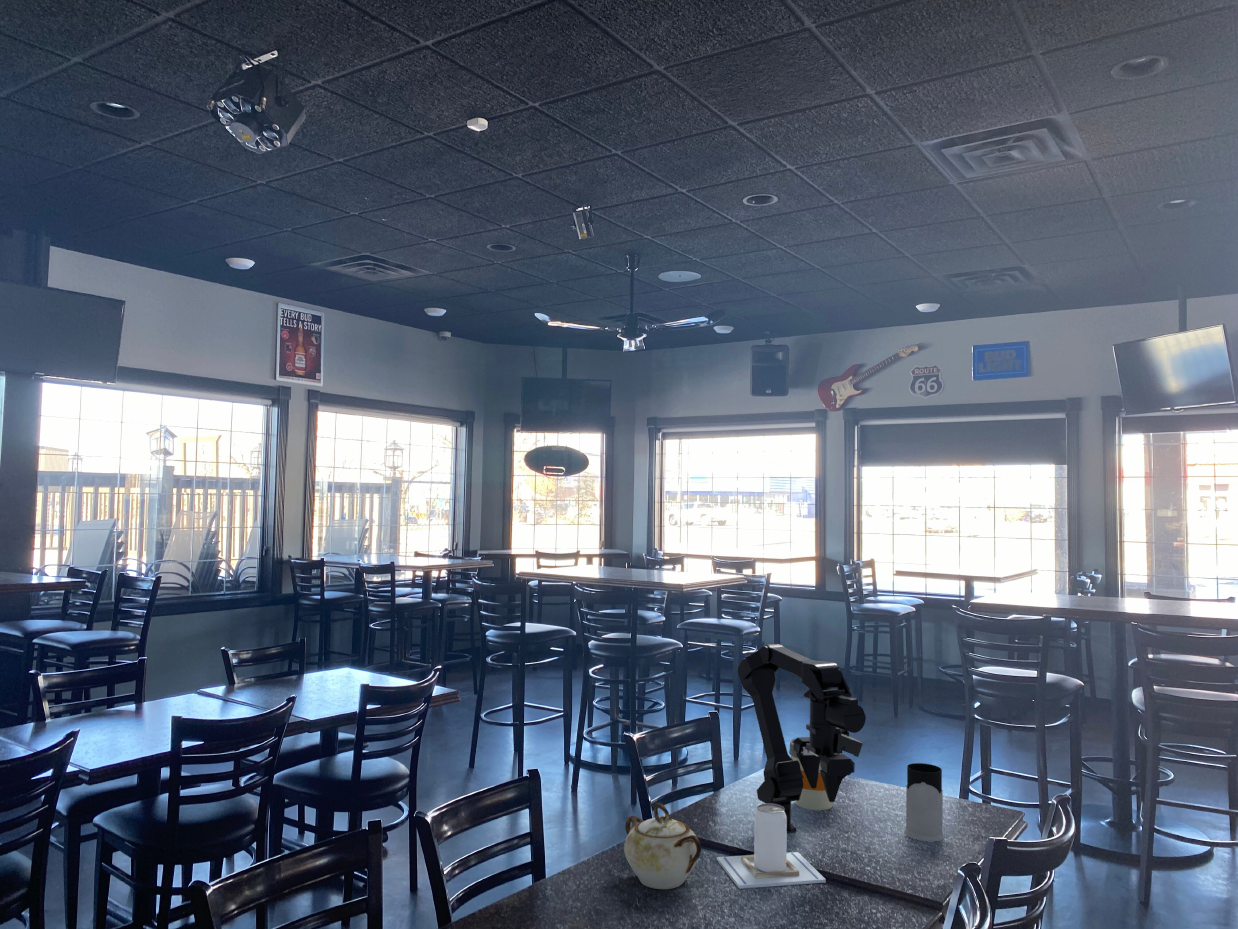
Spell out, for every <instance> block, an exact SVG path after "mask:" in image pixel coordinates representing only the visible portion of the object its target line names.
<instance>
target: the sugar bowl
mask: <svg viewBox="0 0 1238 929" xmlns="http://www.w3.org/2000/svg"><path fill="white" fill-rule="evenodd" d="M658 809H660V810H661V811H662V812H663V813H664V816H663V815H661V816H660V815H659V811H658ZM653 815H654V817H653V818H649V819H646V820H643V819H642V818H639V817H637V816H635V815H630V816H628V817H627V819H626V821H625V825H624V827H625V828H624V829H625V832H626V834H627V836H626V837H625V840H624V844H623V850H624V851H623V852H624V856H625V858H626V860H627V862H628V865H629V866H630V868H631V869H632V871H633V872H634V874H635V875H636V876H637V878H638V880H639V881H640V883H641V884H642V885H643V886H645V887H648V888H650V889H656V890H671V889H675V888H678V887H680V886H682V885H683V883H684V882H685V880H686V879H687V877H688V876H689V875H690V873H691V872H692V871H693V870H694V868H695V867H696V864H697V863H698V861H699V858H700V855H701V852H702V845H701V842H700V840H699V838H698V837H697V835H696V834H695V832H694V831H693V830H692V829H691V828H690V826H689V825H687V824H686V823H685V822H682V821H681V820H680V821H679V820H676V819H673V818H671V817H670V813H669V810H668V809H667V808H666V807H665V805H664V804H663V803H661V802H658V803H656V804H655V805H654V807H653Z"/></svg>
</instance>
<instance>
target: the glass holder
mask: <svg viewBox="0 0 1238 929" xmlns="http://www.w3.org/2000/svg"><path fill="white" fill-rule="evenodd" d="M906 768H907V769H906V772H907V773H906V782H907V783H906V788H905V790H906V791H905V792H906V793H905V794H906V796H905V797H906V801H905V804H906V805H905V808H906V809H905V812H906V813H905V814H906V816H905V817H906V818H905V822H906V825H905V829H904V831H903V834H904V835H905V834H906V835H907V837H908V838H910V839H912V838H913V840H915V839H917V840H916V841H920V842H926V841H928V843H935V842H934V841H937V842H941V841H943V840H945V834H944V831H943V821H944V820H943V819H944V818H943V812H944V811H943V808H944V807H943V806H944V805H943V793H944V792H943V791H944V790H943V787H942V786H943V771H942V770H943V769H942V768H941V767H939V766H937V765H934V764H929V763H925V762H924V763H922V762H917V763H916V762H913V763H909V764H908V765H907V766H906ZM906 835H905V836H906Z"/></svg>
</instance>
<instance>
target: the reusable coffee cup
mask: <svg viewBox="0 0 1238 929" xmlns="http://www.w3.org/2000/svg"><path fill="white" fill-rule="evenodd" d="M797 738H798V737H795V738H792V739H791V740H790V742H789V750H788V755H789V756H790V757H791V758H792V759H793V760H798V761H799V758H798V756H797V755H796V753H797V752H796V751H794V741H795V740H796V739H797ZM834 755H839V754H837V753H834ZM799 763H800V761H799ZM800 768H801V772H802V775H803V777H804V778H803V789H802V792H801V796H800V800H799V801H795V803H796V805H797V806H798V807H800V808H803V809H805V808H806V810H811V811H825V810H830V809H832V808H833V806H834V802H829V800H828V797H827V794H826V790H825V787H824V783H823V780H822V776H821V773H820V770H822V769H821V766H820V764H819V773H818V781H817V787H816V788H811V786H810V784H809V781H808V779H807V777H806V774H805V772H804V770H803V767H802V765H801V763H800Z"/></svg>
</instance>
